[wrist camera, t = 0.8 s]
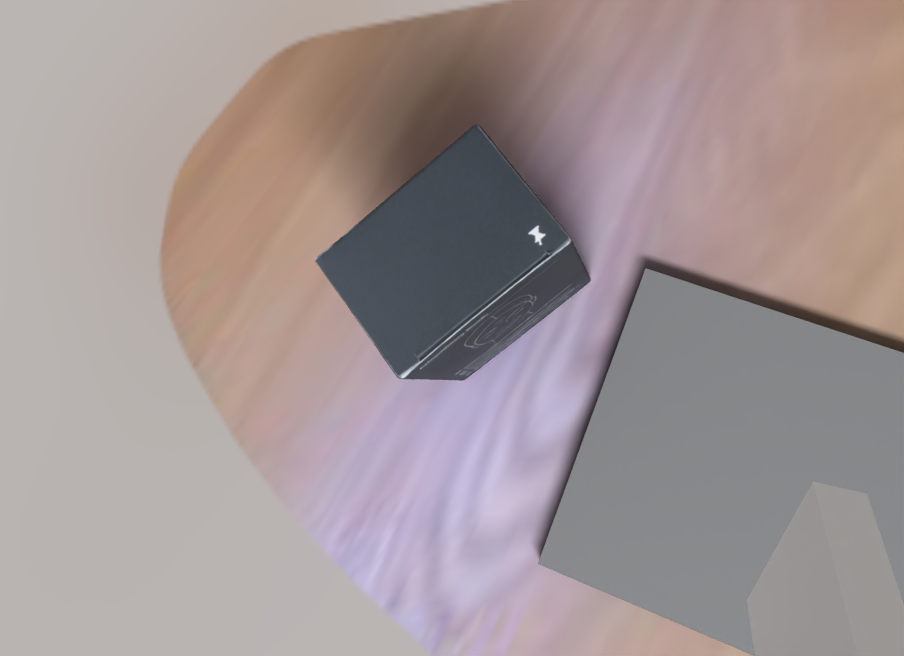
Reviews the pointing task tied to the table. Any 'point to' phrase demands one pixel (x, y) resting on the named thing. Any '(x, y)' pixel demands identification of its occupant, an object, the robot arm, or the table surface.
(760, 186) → the table surface
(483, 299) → the box
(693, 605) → the mat
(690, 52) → the table surface
